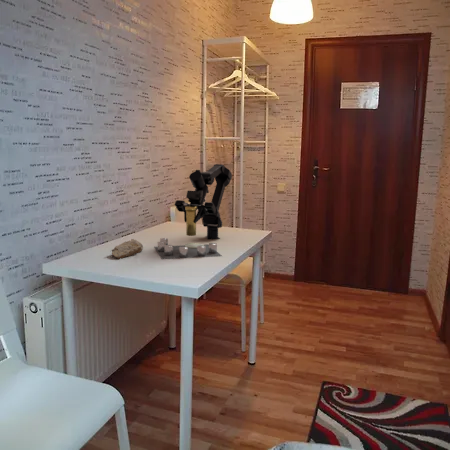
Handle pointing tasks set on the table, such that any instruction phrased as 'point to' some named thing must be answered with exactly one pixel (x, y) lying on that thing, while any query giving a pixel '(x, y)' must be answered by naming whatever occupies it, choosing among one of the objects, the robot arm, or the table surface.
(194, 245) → the pad
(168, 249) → the spacers
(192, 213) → the brass sleeve
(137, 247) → the stone
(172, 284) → the table surface
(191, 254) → the mat
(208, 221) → the robot arm
